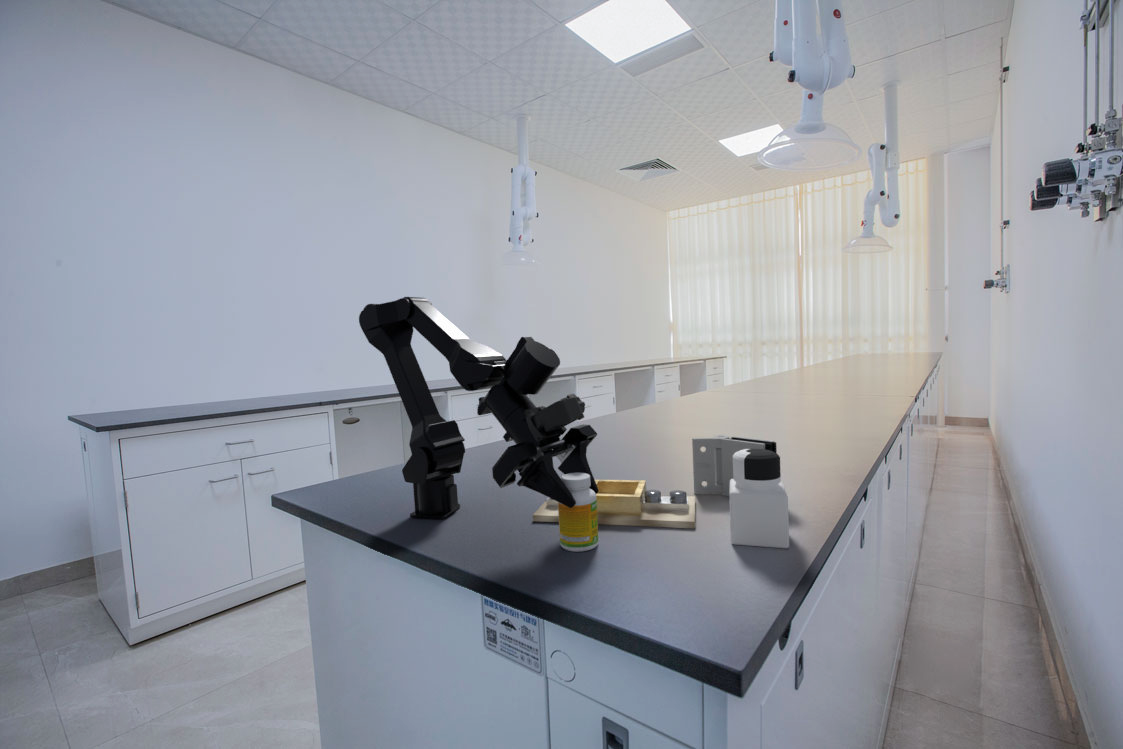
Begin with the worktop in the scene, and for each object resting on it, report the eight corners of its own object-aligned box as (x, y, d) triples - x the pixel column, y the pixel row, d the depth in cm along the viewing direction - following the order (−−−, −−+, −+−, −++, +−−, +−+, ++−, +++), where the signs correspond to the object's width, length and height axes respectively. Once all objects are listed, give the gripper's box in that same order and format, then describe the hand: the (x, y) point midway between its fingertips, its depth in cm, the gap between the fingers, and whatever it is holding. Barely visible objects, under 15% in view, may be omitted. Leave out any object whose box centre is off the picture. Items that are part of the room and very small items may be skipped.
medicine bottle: (784, 529, 71) (781, 446, 70) (789, 549, 64) (787, 457, 63) (731, 525, 73) (728, 445, 72) (731, 545, 66) (727, 456, 66)
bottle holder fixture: (541, 512, 81) (540, 493, 80) (556, 495, 89) (555, 478, 89) (687, 517, 74) (686, 498, 74) (688, 499, 83) (688, 481, 83)
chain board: (533, 521, 80) (532, 515, 79) (554, 497, 91) (553, 492, 91) (694, 528, 73) (694, 521, 73) (695, 502, 84) (695, 496, 84)
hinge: (692, 494, 89) (690, 438, 89) (704, 486, 93) (702, 433, 93) (773, 506, 81) (772, 444, 80) (782, 497, 85) (780, 438, 84)
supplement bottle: (600, 551, 67) (596, 480, 66) (559, 553, 67) (555, 482, 66) (597, 536, 72) (594, 470, 71) (560, 537, 72) (556, 471, 71)
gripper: (502, 384, 63) (580, 480, 57) (583, 372, 78) (651, 448, 72) (463, 441, 68) (531, 535, 62) (546, 420, 83) (606, 494, 77)
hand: (585, 499), depth 68 cm, fingers closed on supplement bottle, 5 cm apart
